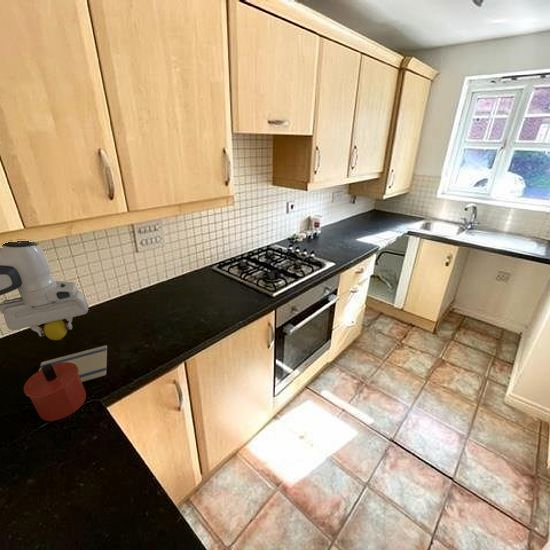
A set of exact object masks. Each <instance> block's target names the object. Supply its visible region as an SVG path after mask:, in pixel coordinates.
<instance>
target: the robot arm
mask: <svg viewBox="0 0 550 550" xmlns="http://www.w3.org/2000/svg"><path fill="white" fill-rule="evenodd" d="M2 244H3V243H2ZM2 244H1V245H2ZM2 247H3V248H0V296H2V295H5V294H8V293H11V292H13V291H16V290H17V291H18V294H19V296H20V297H14V298H10V299H3V300H2V302H0V313H1V314H3V317H4V322H5V324H6V326H7V327H6V328H8V330H11V331H16V330H22V329H25V328H26V329H27V328H30V330H32V331H33V332H36V333H38V336H39V337H45V336H46V334H45V331H44V327H43V328H41V327H40V326H41V325H43V324H44V325H45V323H48V322H53V321H57V320H62V321H63V320H66V321H67V322H64V323H65V328H66V330H67V331H70V330H72V329H73V324H72V322H73V318H75V317H79V316H84V315H86V314H88V312H89V304H88V301H87V299H86V297H85V295H84V294H83V292H81V290H79V289H78V286H77V283H76V282H74V281H59V280H56V278H55V277H54V276H53V275H52V273H51V265H50V262H49V260H48V258H47V255H46V254H45V252H44V250H43V248H42V247H41V246H40V245H39V244H38V243H37V242H36V241H33V242H29V241H17V242H8V243H5V244H3V245H2ZM39 325H40V326H39Z"/></svg>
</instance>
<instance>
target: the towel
mask: <svg viewBox="0 0 550 550" xmlns="http://www.w3.org/2000/svg"><path fill="white" fill-rule="evenodd" d="M107 357H108V345H107V344H105V345H102V346H98V347H94V348H91V349H86V350H83V351H79V352H75V353H72V354H67V355H64V356H60V357H56V358H53V359H48V360H45V361H41V363H40V366H39V369H38V371H40V370H41V369H42V367H44V366H45V365H48V364H51V365H53V364H57V363H63V362H69V363H73V364H75V365H76V366H77V367H78V374H79V377H80V379H81V382H82V383H83V382H87V381H90V380H94V379H97V378H101V377H104V376H106V375H107V361H108V360H107V359H108V358H107Z"/></svg>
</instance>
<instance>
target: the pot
mask: <svg viewBox="0 0 550 550" xmlns="http://www.w3.org/2000/svg"><path fill="white" fill-rule="evenodd" d="M29 399H30V400H31V402H32V404H33V407H34V408H35V410H36V412H37V414H38V416H39V418H40V419H42V420H43V421H46V422H54V421H58V420H62V419H64V418H67V417H68V416H70V415H72V414H74V413H75V412H77V411H78V410H79V409H80V408H81V407H82V406H83V405H84V403H85V401H86V399H87V392H86V389H85V387H84V384H83V382H81V379H80V377H79V374H78V375H77V377H76V378H75V380H74V381H73V382H72V383H71V384H70V385H68V386H67V387H66V388H64V389H63V390H61V391H59V392H57V393H55V394H52V395H49V396H46V397H41V398H32V397H29Z"/></svg>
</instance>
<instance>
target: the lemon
mask: <svg viewBox="0 0 550 550" xmlns="http://www.w3.org/2000/svg"><path fill="white" fill-rule="evenodd" d="M65 323H66V322H64V321H63V319H62V320H57V321H53V322H48V323H44V326H43V328H44V331H45V334H46V335H45V336H46V337H47V338H48V339H49V340H52V341H61V340H62V339H63V338H65V337H66V335H67V333H68V330H66V328H65Z"/></svg>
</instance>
